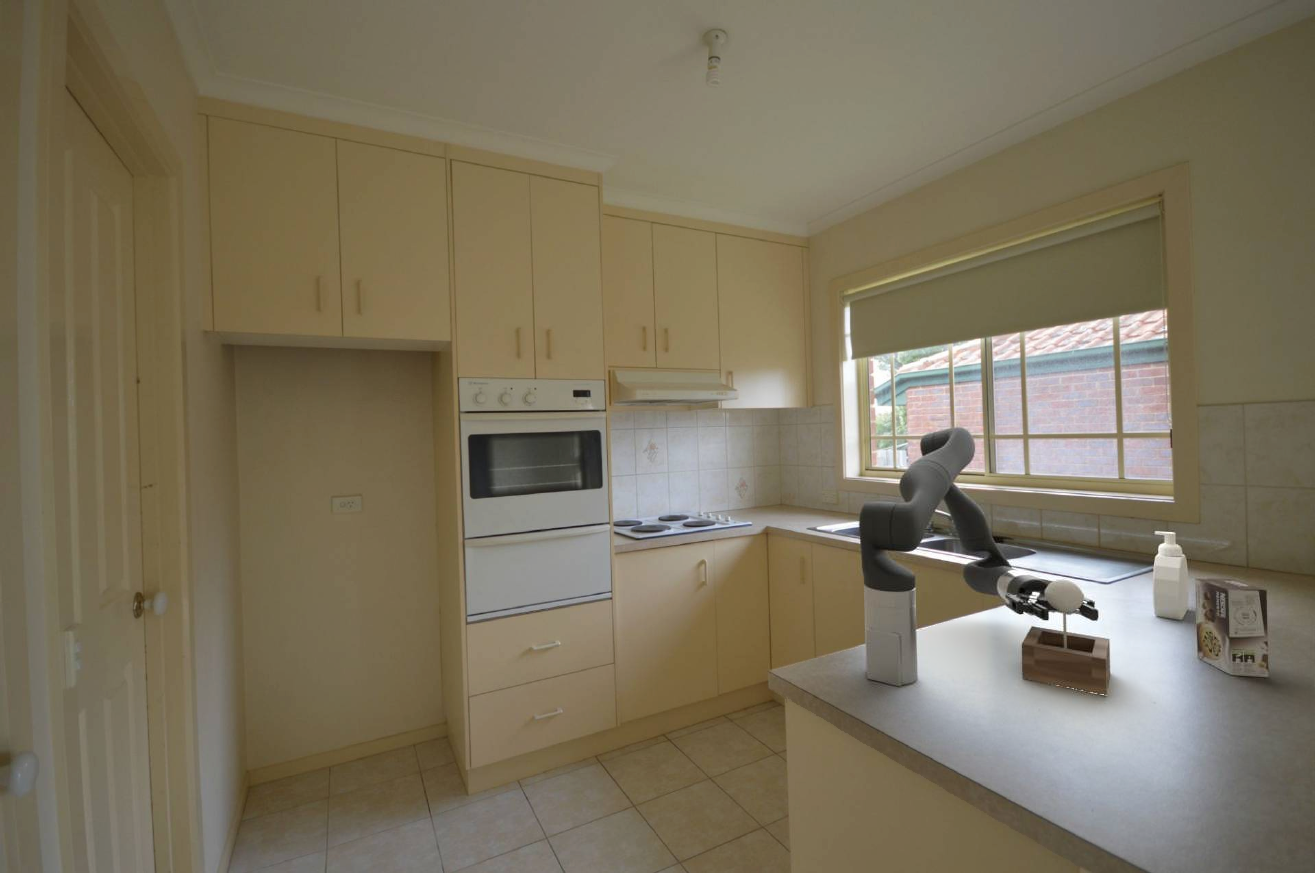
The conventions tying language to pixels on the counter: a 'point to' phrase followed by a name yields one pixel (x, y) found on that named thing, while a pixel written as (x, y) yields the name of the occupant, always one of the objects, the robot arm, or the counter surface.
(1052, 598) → the lollipop
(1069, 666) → the base
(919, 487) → the robot arm
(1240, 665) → the coffee box
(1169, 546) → the soap bottle
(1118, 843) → the counter surface
